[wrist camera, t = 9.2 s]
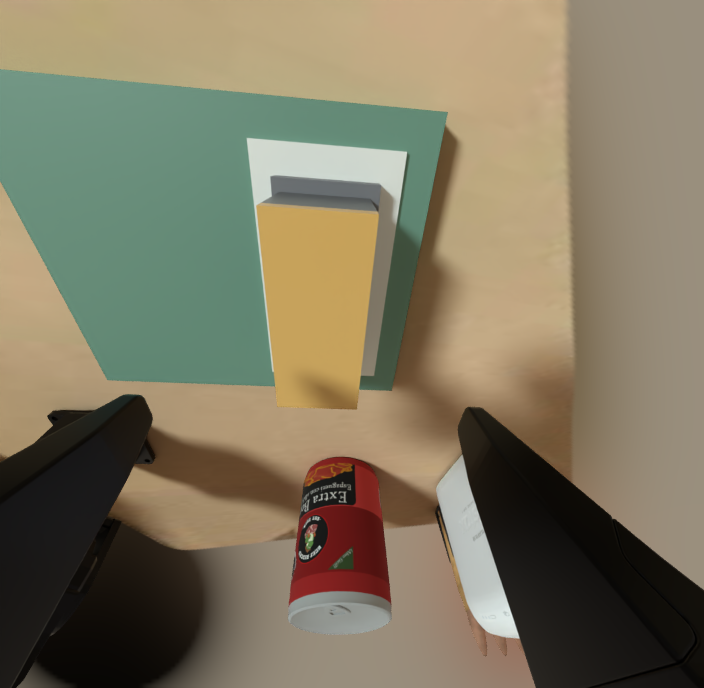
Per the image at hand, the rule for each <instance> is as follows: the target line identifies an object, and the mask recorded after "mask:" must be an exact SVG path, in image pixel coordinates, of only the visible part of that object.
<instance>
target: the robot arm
mask: <svg viewBox="0 0 704 688" xmlns="http://www.w3.org/2000/svg"><path fill="white" fill-rule="evenodd" d="M47 417H48V419H49V420H50V421H51V423H52V424H53V426H52V427H51V428H50V429H49V430H48V431H47V432H46V433H45V434H44V435H43V436H41V437H40V438H39V439H38V440H37V441H36V442H35V443H34V444H32V445H31V446H29V447H27V448H25V449H23V450H21V451H20V452H18V453H16V454H14V455H12V456H10V457H9V458H7V459H5V460H3V461H1V462H0V688H16V687H17V686H18V685H19V684H20V683H21V682H22V681H23V680H24V678H25V677H26V675H27V673H28V672H29V670H30V668H31V667H32V665H33V663H34V662H35V660H36V658H37V656H38V654H39V653H40V651H41V649H42V648H43V646H44V645H45V643H46V641H47V640H48V638H49V637H50V636H51V635H52V634H54V633H55V632H57V631H58V630H59V629H60V628H61V627H62V626H63V625H64V624H65V623H66V621H67V620H68V619H69V618H70V617H71V615H72V614H73V613H74V612H75V610H76V608H77V607H78V606H79V605H80V603H81V602H82V600H83V599H84V597H85V595H86V594H87V592H88V591H89V589H90V587H91V586H92V584H93V581H94V580H95V578H96V576H97V574H98V571H99V569H100V567H101V565H102V563H103V560H104V558H105V556H106V554H107V552H108V550H109V548H110V545H111V543H112V541H113V539H114V537H115V535H116V533H117V530H118V528H119V526H120V524H121V521H120V520H117V519H111V518H108V517H107V515H108V513H109V511H110V510H111V508H112V506H113V504H114V503H115V501H116V499H117V497H118V495H119V494H120V492H121V490H122V488H123V486H124V484H125V483H126V481H127V479H128V477H129V475H130V473H131V470H132V468H133V466H134V464H152V463H153V462H154V460H155V455H154V453H153V452H152V450H151V448H150V446H149V444H148V442H147V440H146V436H147V434H148V431H149V429H150V427H151V424H152V420H153V417H152V413H151V411H150V409H149V407H148V405H147V403H146V400H145V398H144V397H143V396H141V395H131V394H126V395H122V396H120V397H118V398H117V399H115V400H113V401H111V402H109V403H107V404H106V405H104V406H102V407H100V408H98V409H96V410H95V411H93V412H86V411H52V412H51V413H50V414H49V415H48V416H47ZM458 436H459V441H460V445H461V450H462V454H463V459H464V464H465V468H466V473H467V477H468V481H469V485H470V489H471V492H472V495H473V498H474V501H475V504H476V507H477V510H478V513H479V516H480V519H481V523H482V526H483V529H484V532H485V535H486V538H487V541H488V544H489V547H490V550H491V553H492V556H493V559H494V562H495V565H496V568H497V571H498V574H499V577H500V580H501V583H502V586H503V589H504V592H505V595H506V598H507V602H508V605H509V608H510V611H511V614H512V617H513V620H514V623H515V626H516V629H517V632H518V635H519V638H520V641H521V644H522V647H523V650H524V653H525V656H526V659H527V662H528V665H529V668H530V671H531V674H532V677H533V680H534V684H535V686H536V688H704V590H703V589H702V588H700V587H699V586H698V585H696V584H695V583H694V582H693V581H691V580H690V579H689V578H687V577H686V576H685V575H684V574H682V573H681V572H680V571H678V570H677V569H676V568H675V567H673V566H672V565H671V564H669V563H668V562H667V561H666V560H664V559H663V558H662V557H660V556H659V555H658V554H657V553H656V552H654V551H653V550H652V549H651V548H649V547H648V546H647V545H646V544H645V543H643V542H642V541H641V540H640V539H638V538H637V537H636V536H635V535H633V534H632V533H631V532H630V531H629V530H628V529H626V528H625V527H624V526H623V525H622V524H620V523H619V522H618V521H617V520H616V519H612V517H611V515H609V514H608V513H607V512H606V511H605V510H604V509H602V508H601V507H600V506H599V505H597V504H596V503H595V502H594V501H593V500H592V499H590V498H589V497H588V496H587V495H586V494H584V493H583V492H582V491H581V490H580V489H578V488H577V487H576V486H575V485H574V484H572V483H571V482H570V481H569V480H568V479H566V478H565V477H564V476H563V475H562V474H560V473H559V472H558V471H557V470H556V469H555V468H553V467H552V466H551V465H550V464H549V463H547V462H546V461H545V460H544V459H543V458H541V457H540V456H539V455H538V454H537V453H535V452H534V451H533V450H532V449H531V448H529V447H528V446H527V445H526V444H525V443H523V442H522V441H521V440H520V439H519V438H517V437H516V436H515V435H514V434H513V433H512V432H510V431H509V430H508V429H507V428H506V427H504V426H503V425H502V424H501V423H500V422H498V421H497V420H496V419H495V418H494V417H492V416H491V415H490V414H489V413H488V412H486V411H485V410H484V409H483V408H480V407H467V408H466V409H465V411H464V413H463V415H462V418H461V420H460V422H459V425H458Z"/></svg>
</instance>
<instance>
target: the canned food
mask: <svg viewBox="0 0 704 688" xmlns="http://www.w3.org/2000/svg"><path fill="white" fill-rule="evenodd" d="M391 619H392V615H391V597H390V584H389V576H388V566H387V558H386V547H385V538H384V529H383V520H382V511H381V501H380V492H379V483H378V480H377V477H376V475H375V473H374V471H373V469H372V468H371V467H370V466H369V465H367V464H366V463H364V462H362V461H360V460H357V459H353V458H347V457H334V458H329V459H325V460H322V461H320V462H318V463H316V464H315V465H314V466H312V467H311V468H310V470H309V471H308V474H307V476H306V478H305V481H304V486H303V494H302V502H301V510H300V518H299V526H298V533H297V542H296V550H295V557H294V565H293V573H292V581H291V589H290V599H289V614H288V621H289V622H290V623H291V624H292V625H294V626H295V627H297V628H299V629H301V630H305V631H308V632H313V633H321V634H354V633H362V632H367V631H372V630H375V629H378V628H381V627H383V626H385V625H386V624H387V623H389V622H390V620H391Z"/></svg>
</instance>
